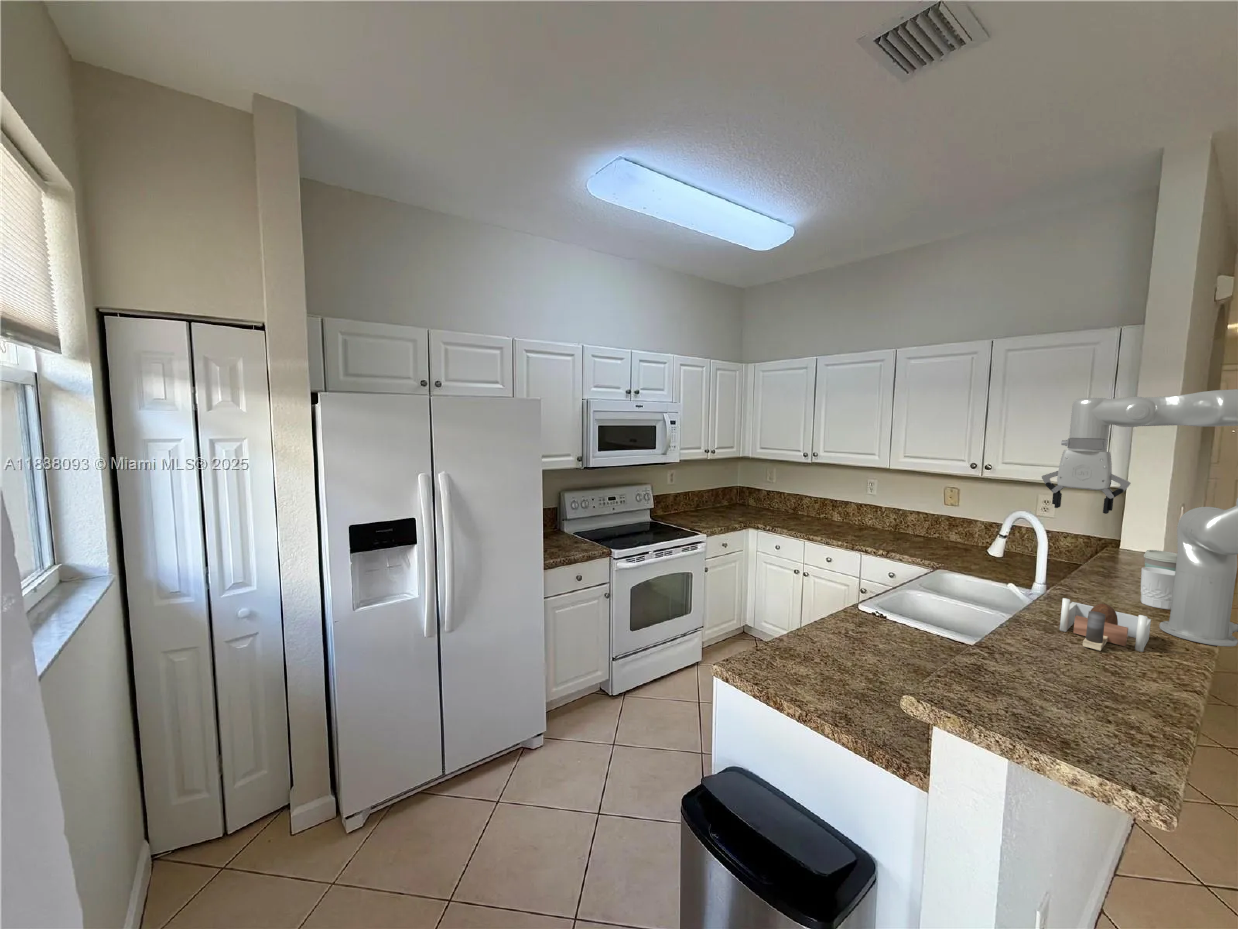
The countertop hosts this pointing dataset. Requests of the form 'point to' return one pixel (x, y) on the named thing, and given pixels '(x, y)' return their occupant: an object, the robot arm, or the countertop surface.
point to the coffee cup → (1160, 559)
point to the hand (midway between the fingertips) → (1080, 510)
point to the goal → (1135, 624)
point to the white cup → (1157, 587)
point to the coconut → (1107, 613)
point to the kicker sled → (1099, 631)
